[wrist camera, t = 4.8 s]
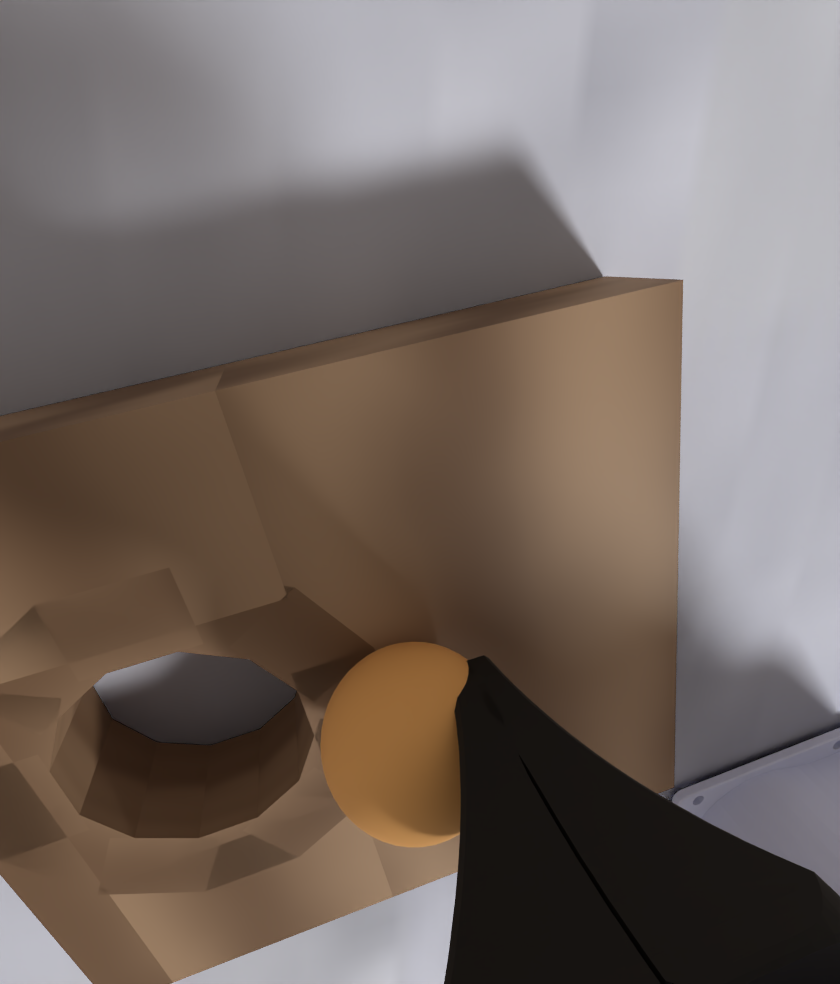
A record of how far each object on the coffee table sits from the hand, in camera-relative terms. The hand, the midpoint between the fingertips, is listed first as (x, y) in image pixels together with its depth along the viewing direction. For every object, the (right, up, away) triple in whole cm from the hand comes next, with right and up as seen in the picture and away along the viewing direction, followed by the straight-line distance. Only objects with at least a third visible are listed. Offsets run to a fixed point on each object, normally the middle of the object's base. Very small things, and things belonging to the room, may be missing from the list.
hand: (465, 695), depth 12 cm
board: (-3, +1, +4) cm, 5 cm away
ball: (-1, -1, 0) cm, 1 cm away
